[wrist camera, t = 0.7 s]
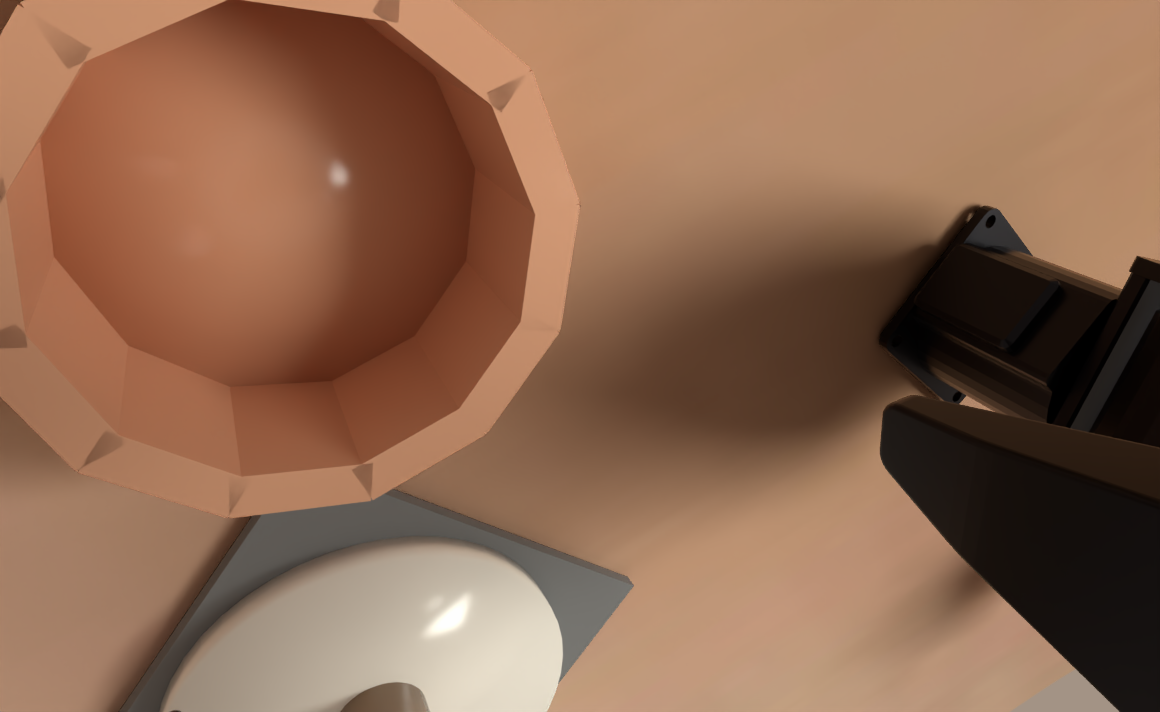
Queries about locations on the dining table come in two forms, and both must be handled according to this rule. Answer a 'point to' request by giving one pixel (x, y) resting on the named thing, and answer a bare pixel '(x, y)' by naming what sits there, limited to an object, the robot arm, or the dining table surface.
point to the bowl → (271, 242)
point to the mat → (307, 534)
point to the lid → (381, 637)
